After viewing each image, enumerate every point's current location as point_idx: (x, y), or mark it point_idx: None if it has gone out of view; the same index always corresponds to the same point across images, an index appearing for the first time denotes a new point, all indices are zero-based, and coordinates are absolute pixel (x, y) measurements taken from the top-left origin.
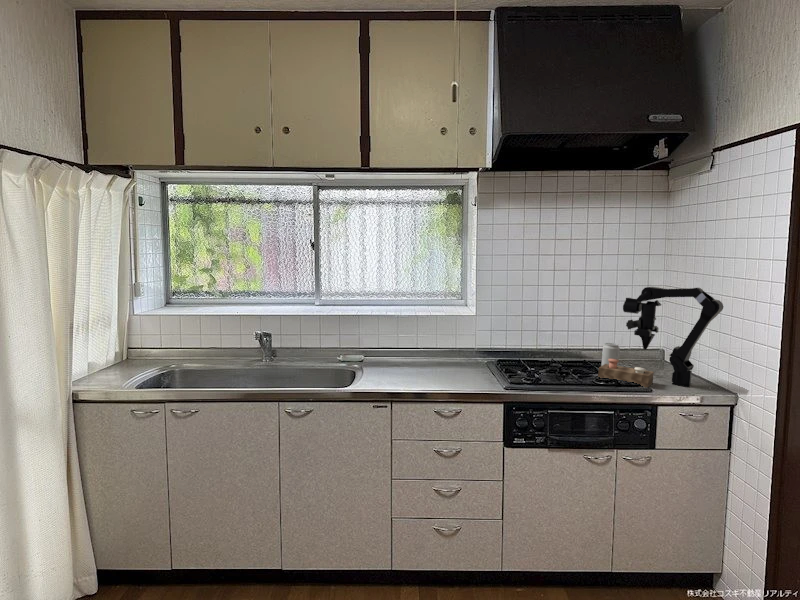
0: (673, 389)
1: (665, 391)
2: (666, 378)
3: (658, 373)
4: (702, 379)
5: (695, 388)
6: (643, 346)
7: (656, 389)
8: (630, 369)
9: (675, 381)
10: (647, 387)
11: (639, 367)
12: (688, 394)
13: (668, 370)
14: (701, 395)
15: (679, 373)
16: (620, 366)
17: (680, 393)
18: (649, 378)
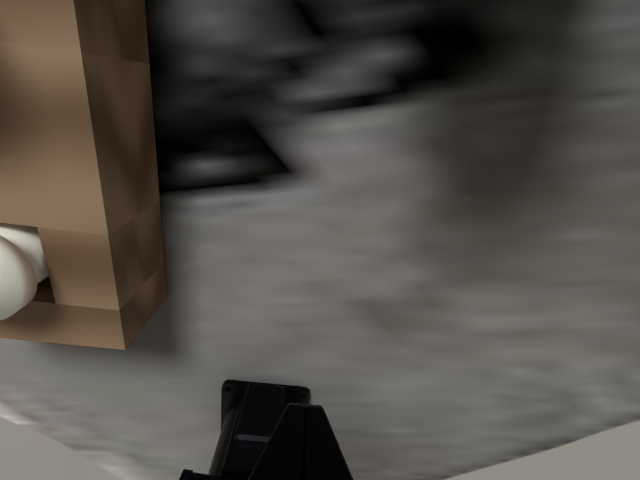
0: (114, 386)
1: (27, 359)
2: (371, 349)
3: (501, 306)
4: (461, 473)
5: None
6: (261, 456)
7: None
8: (23, 177)
9: (238, 403)
10: None
11: (6, 272)
12: (75, 434)
13: (634, 349)
14: (110, 469)
15: (209, 471)
16: (71, 51)
17: (59, 410)
18: None
